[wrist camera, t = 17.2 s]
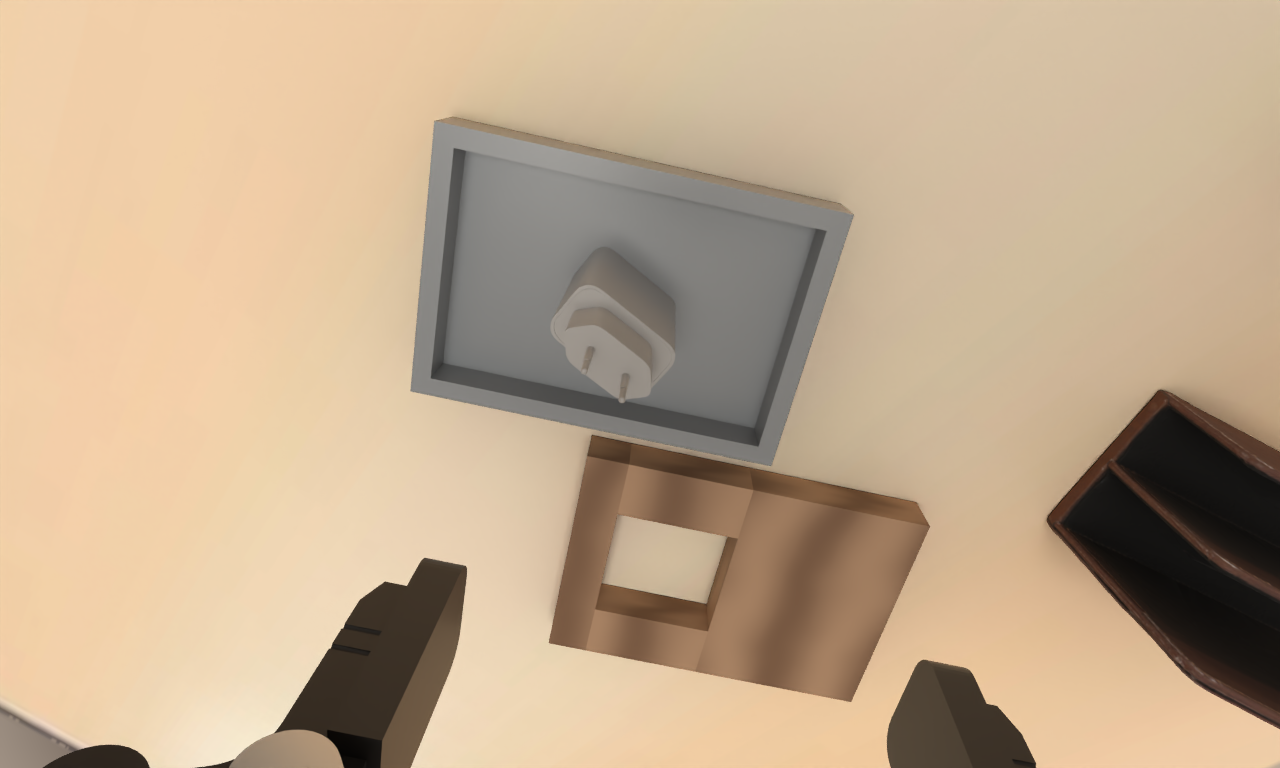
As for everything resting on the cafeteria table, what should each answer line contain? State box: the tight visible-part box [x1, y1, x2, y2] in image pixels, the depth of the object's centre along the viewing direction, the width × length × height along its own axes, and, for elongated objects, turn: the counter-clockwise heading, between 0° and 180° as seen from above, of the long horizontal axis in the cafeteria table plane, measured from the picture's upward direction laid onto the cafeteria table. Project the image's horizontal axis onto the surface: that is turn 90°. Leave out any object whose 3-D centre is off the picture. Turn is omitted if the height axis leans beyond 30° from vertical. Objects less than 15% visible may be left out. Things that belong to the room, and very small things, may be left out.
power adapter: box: [550, 247, 675, 403], centre depth 33 cm, size 3×5×12 cm, turn 51°
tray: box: [411, 117, 854, 466], centre depth 38 cm, size 20×14×3 cm
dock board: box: [549, 435, 930, 702], centre depth 45 cm, size 20×14×2 cm
